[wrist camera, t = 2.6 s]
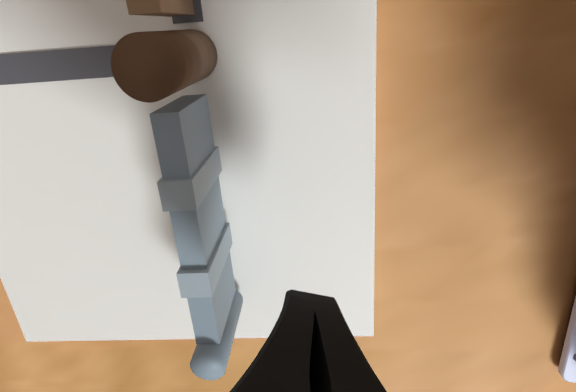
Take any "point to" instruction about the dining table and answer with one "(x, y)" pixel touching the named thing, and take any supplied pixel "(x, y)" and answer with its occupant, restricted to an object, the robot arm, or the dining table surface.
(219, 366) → the fence folding panel
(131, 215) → the card
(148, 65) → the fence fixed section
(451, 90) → the dining table surface
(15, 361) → the dining table surface
